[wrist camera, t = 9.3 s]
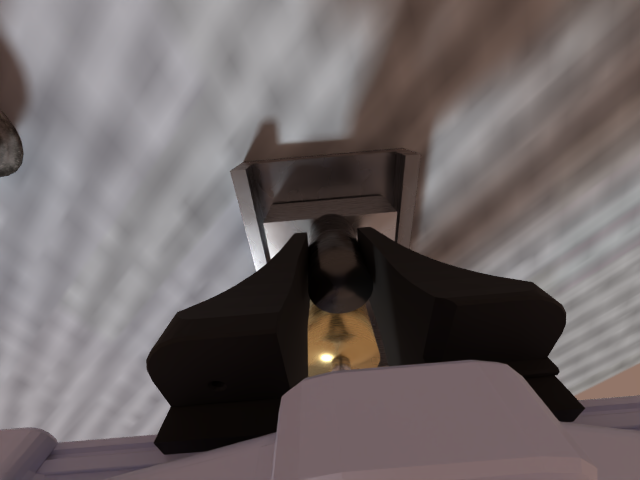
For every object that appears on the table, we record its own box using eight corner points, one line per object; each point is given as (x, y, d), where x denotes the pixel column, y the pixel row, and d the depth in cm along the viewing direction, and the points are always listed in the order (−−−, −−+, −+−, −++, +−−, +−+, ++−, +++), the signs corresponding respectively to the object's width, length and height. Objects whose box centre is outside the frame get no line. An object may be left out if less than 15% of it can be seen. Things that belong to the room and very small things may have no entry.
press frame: (386, 330, 22) (403, 377, 18) (283, 339, 22) (277, 388, 18) (403, 148, 14) (439, 160, 10) (243, 162, 14) (216, 179, 10)
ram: (379, 249, 16) (424, 336, 10) (281, 258, 16) (262, 350, 10) (382, 192, 14) (441, 254, 8) (270, 201, 14) (238, 271, 8)
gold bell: (364, 321, 20) (383, 396, 15) (307, 327, 20) (306, 404, 15) (363, 276, 17) (386, 347, 12) (298, 283, 18) (293, 357, 12)
